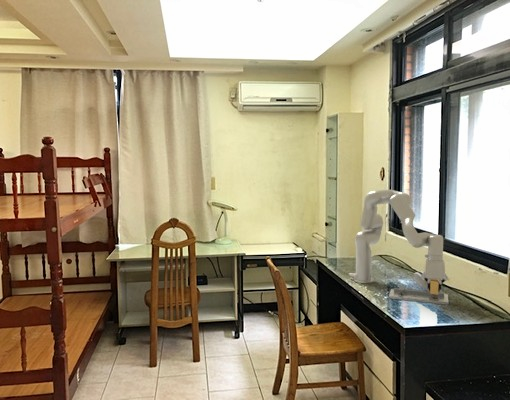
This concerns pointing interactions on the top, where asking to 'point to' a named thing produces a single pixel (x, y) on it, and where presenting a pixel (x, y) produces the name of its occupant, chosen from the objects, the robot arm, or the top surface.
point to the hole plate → (419, 298)
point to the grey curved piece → (421, 280)
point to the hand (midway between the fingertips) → (434, 290)
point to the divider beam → (415, 292)
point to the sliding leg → (434, 287)
